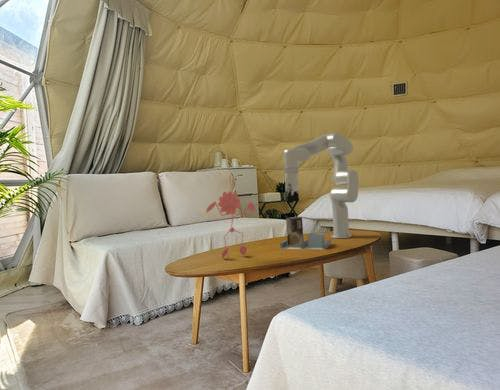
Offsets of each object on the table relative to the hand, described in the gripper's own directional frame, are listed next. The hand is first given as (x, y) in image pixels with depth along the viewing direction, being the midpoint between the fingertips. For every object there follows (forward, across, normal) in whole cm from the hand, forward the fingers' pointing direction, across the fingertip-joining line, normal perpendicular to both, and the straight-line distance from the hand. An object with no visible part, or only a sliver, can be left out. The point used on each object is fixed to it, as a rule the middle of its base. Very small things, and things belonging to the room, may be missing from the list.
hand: (293, 201), depth 222 cm
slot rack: (+26, 0, +6) cm, 27 cm away
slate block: (+25, 0, +12) cm, 28 cm away
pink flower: (+26, +26, -27) cm, 46 cm away
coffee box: (+25, 0, 0) cm, 25 cm away
